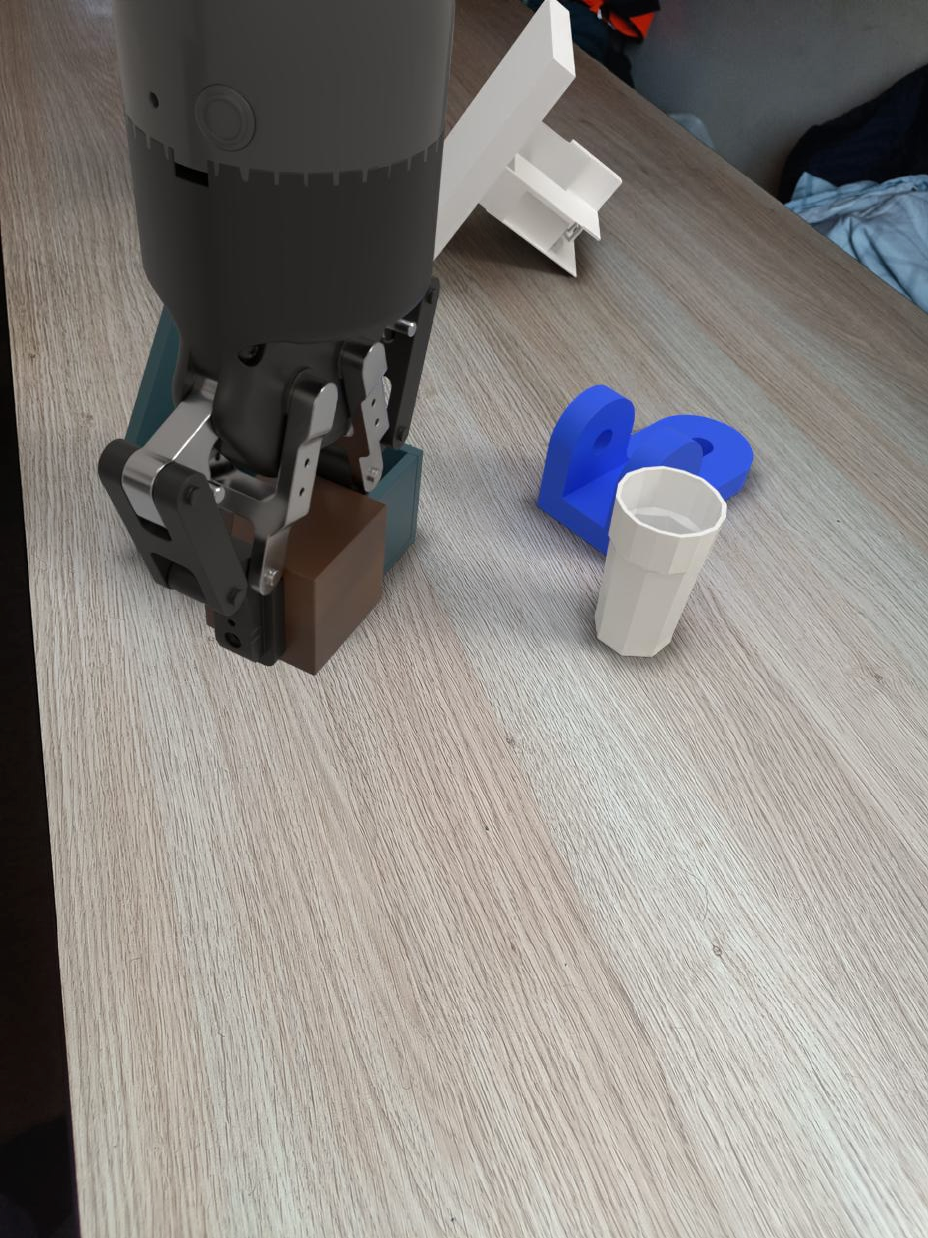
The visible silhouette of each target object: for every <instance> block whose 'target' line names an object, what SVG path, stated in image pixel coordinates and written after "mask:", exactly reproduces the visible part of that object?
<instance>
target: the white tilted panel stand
mask: <svg viewBox="0 0 928 1238" xmlns="http://www.w3.org/2000/svg"><path fill="white" fill-rule="evenodd" d="M576 77H577V76H576V67H575V56H574V46H573V38H572V27H571V17H570V11H569V10H568V9H567V8H566V7H565V6H564V5H562V3H560V2H559V1H558V0H544V1H543V2H542V3H541V5H540V6H539V8H538V9H537V11H536V12H534V15H533V16H532V18H530V20H529V22H528V23H527V25H526V26H525V27H524V28H523V30H522V31H521V33H520V34H519V36H518V37H517V38H516V40H515V41H514V43H513V44H512V45H511V47H510V48H509V49H508V51H507V52H506V54H505V55H504V57H503V58H502V60H501V61H500V62H499V64H498V65H497V67H495V69H494V71H493V72H492V74H491V75H490V76H489V77H488V79H487V81H485V83H484V84H483V86H482V87H481V89H480V90H479V92H478V93H477V94H476V96H475V97H474V98H473V100H472V101H471V103H470V104H469V105H468V107H467V108H466V110H465V111H464V112H463V114H462V115H461V117H460V118H459V119H458V121H457V122H456V123H455V125H454V126H453V128H452V129H451V130H450V132H449V133H448V135H447V136H446V138H444V147H443V159H442V170H441V181H440V193H439V204H438V215H437V227H436V238H435V250H434V261H435V260H436V258H437V257H439V255H440V254H441V252H442V251H443V250H444V248H445V247H446V246H447V244H448V243H449V242H450V241H451V240H452V238H453V237H454V235H455V234H456V233H457V232H458V230H459V229H460V227H461V226H462V225H463V224H464V222H465V221H466V220H467V218H469V216H470V215H471V214H472V212H473V211H474V209H475V208H476V207H477V205H480V206H482V207H483V208H484V209H485V211H486V212H487V213H489V214H490V215H492V217H494V218H495V219H497V220H498V221H500V222H501V223H502V224H503V225H505V226H506V227H508V229H510V230H511V231H513V232H514V233H516V234H517V235H518V236H519V237H521V238H522V239H524V240H525V241H526V242H527V243H528V244H530V245H531V246H532V247H534V248H535V249H537V250H538V251H539V252H540V253H542V254H543V255H545V256H546V257H547V258H549V259H550V260H551V261H552V262H554V263H555V264H556V265H558V266H559V267H560V268H562V269H563V270H565V272H567V273H569V274H570V275H572V277H574V278H575V279H576V278H577V276H578V275H577V266H576V265H577V264H576V252H575V240H576V239H577V237H579V235H581V233H582V232H583V231H585V232H586V233H587V234H589V235H590V236H591V237H593V238H594V239H595V240H596V241H598V242H600V241H601V239H602V237H601V230H600V221H599V213H598V212H599V211H600V210H601V208H602V207H603V206H604V205H605V203H606V202H608V200H609V199H610V198H611V196H612V195H613V194H614V193H615V192H616V191H617V189H618V188H620V187H621V185H622V184H623V179H622V178H621V177H620V176H619V175H618V174H617V173H615V172H614V171H613V170H612V169H611V168H609V167H608V166H606V164H604V163H603V162H602V161H600V160H599V159H598V157H595V155H593V154H592V153H591V152H590V151H588V149H586V148H585V147H583V146H582V145H581V144H580V143H579V142H577V141H576V140H575V139H571V140H570V142H569V141H567V140H566V139H565V138H563V137H562V136H561V135H559V134H558V133H557V132H556V131H555V130H554V129H552V128H551V127H550V126H549V125H547V123H545V122H543V121H544V119H545V117H546V116H547V115H548V114H549V113H550V111H551V110H552V109H553V107H554V106H555V105H556V104H557V102H558V101H559V100H560V98H561V97H562V96H563V94H564V93H565V92H566V90H567V89H568V88H569V86H570V85H571V84H572V82H573V81H574V80H575V79H576Z"/></svg>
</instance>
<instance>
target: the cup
mask: <svg viewBox="0 0 928 1238" xmlns="http://www.w3.org/2000/svg"><path fill="white" fill-rule="evenodd" d="M727 505H728V504H727V503H726V500H725V501H724V499H723V498H722V496H721V495H720V493H719V492H718V491H717V490H716V489H715V488H714V487H713V486H712V485H710V484H709V483H708V482H707V481H706V480H705V479H703V478H701V477H698V476H696V475H694V474H691V473H689V472H686V471H684V470H679V469H675V468H670V467H665V466H657V467H645V468H641V469H638V470H635V471H632V472H629V473H627V474H626V475H625V476H624V478H623V479H622V480H621V481H620V482H619V484H618V488H617V493H616V498H615V503H614V508H613V513H612V519H611V524H610V529H609V534H608V536H609V538H610V541H609V546H608V551H607V556H605V562H604V568H603V574H602V578H601V584H600V587H599V588H600V589H599V594H598V599H597V604H596V609H595V613H594V624H595V630H596V637H597V639H598V640H599V641H601V642H602V643H603V644H605V645H606V646H608V647H609V648H610V649H612V650H613V651H614V652H616V653H617V654H619V655H620V656H625V657H626V656H627V657H640V658H641V657H644V658H653V657H654V656H656V655H657V654H658V653H659V652H660V651H662V650H663V649H664V648H665V647H666V646H668V645H669V644H670V643H671V641H672V638H673V636H674V632H675V630H676V628H677V626H678V623H679V621H680V618H681V617H682V614H683V613H684V609H685V608H686V605H687V603H688V600H689V599H690V596H691V594H692V591H693V589H694V588H695V585H696V582H697V579H698V577H699V575H700V573H701V571H702V568H703V566H704V565H705V563H706V562H707V561H708V558H709V557H710V555H712V550H713V549H714V546H715V544H716V542H717V540H718V538H719V535H720V532H721V530H722V528H723V526H724V524H725V520H726V518H727V508H728V506H727Z"/></svg>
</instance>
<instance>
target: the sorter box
mask: <svg viewBox="0 0 928 1238" xmlns="http://www.w3.org/2000/svg"><path fill="white" fill-rule="evenodd" d="M382 460H383V471H382V475H381V478H380V480H379V482H378V484H377V485H376V487H375V488H374V489H373V490H372V491H371V492H369V497H370V498H372V499H374V500H377V501H379V502H382V503H384V504H386V505H387V520H386V536H385V551H384V567H383V577H385V576H386V574H387V573H388V572H389V571H390V569H392V567H394V565H395V564H396V563H397V562H398V561H399V560H400V558H401V557H402V556H403V555H404V554H405V553H406V551H407V550H408V549H409V548H410V547H411V545H412V544H413V543H414V542H415V541H416V536H417V535H416V534H417V526H418V516H419V515H418V513H419V504H420V492H421V483H422V474H423V473H422V471H423V463H424V462H423V461H424V449H421V448H419V447H416V446H413V445H410V444H408V443H406V442H405V443H404V444H403V446H402V447H401V448H400V449H398V450H394V449H392V448H389V447H387V446H386V448H385V449H384V451H383V452H382ZM233 465H234V466H235V467H236V468H237V469H238V470H239V471H241V472H243V473H245V474H247V475H250V476H252V477H254V478H255V477H256V476H257V475H258V474H257V473H254V472H252V471H250V470H247V469H245V468H242V467H240V466H238V465H235V464H233Z"/></svg>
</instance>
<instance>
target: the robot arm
mask: <svg viewBox="0 0 928 1238" xmlns="http://www.w3.org/2000/svg"><path fill="white" fill-rule="evenodd" d="M110 5H111V12H112V21H113V29H114V39H115V46H116V54H117V62H118V70H119V71H118V72H119V78H120V79H119V80H120V87H121V95H122V104H123V113H124V121H125V122H124V123H125V129H126V131H125V132H126V139H127V147H128V155H129V163H130V174H131V180H132V189H133V196H134V207H135V214H136V222H137V230H138V239H139V246H140V248H139V249H140V255H141V263H142V268H143V271H144V274H145V276H146V279H147V281H148V283H149V284H150V286H151V288H152V290H153V291H154V292H155V293H156V295H157V297H158V298H159V299H160V301H161V303H162V304H163V306H165V307H166V309H167V311H168V312H169V314H170V316H171V317H172V319H173V321H174V323H175V325H176V327H177V329H178V332H179V352H178V359H177V364H176V368H175V372H174V376H173V381H172V399H173V404H174V406H175V410H174V411H173V413H172V414H171V415H170V416H169V417H168V418H167V420H166V421H165V422H164V423H163V424H162V426H161V427H160V428H159V429H158V430H157V431H156V433H155V434H154V435H153V436H152V437H151V438H150V440H149V441H148V442H147V443H146V444H145V446H144V447H140V446H138V445H136V444H134V443H131V442H129V441H127V440H124V439H125V438H115V439H113V440H111V441H110V442H109V443H108V444H107V445H106V446H105V447H104V448H103V450H102V451H101V454H100V456H99V458H98V462H97V476H98V479H99V481H100V482H101V484H102V486H103V488H104V489H105V492H106V494H107V496H108V497H109V499H110V501H111V502H112V505H113V507H114V508H115V510H116V513H117V514H118V516H119V518H120V520H121V522H122V523H123V526H124V527H125V528H126V531H127V533H128V536H129V537H130V538H131V540H132V542H133V544H134V546H135V548H136V550H137V551H138V553H139V555H140V557H141V559H142V561H143V563H144V565H145V567H146V568H147V571H148V572H149V574H150V576H151V578H152V579H153V581H154V582H155V583H156V584H157V585H159V586H161V587H163V588H166V589H168V590H170V591H176V592H177V593H180V594H182V595H184V596H186V597H188V598H190V599H193V600H194V601H197V602H199V603H201V604H203V605H204V606H205V605H207V606H210V608H211V609H212V610H213V617H214V626H215V628H213V629H214V630H213V631H214V639H215V641H216V643H217V644H218V645H219V647H221V648H223V649H225V650H227V651H230V652H231V653H234V654H236V655H237V656H240V657H242V658H244V659H245V660H248V661H250V662H252V663H255V664H260V665H263V666H265V667H273V666H275V664H276V663H277V662H278V661H280V660H279V659H280V658H281V656H282V655H283V654H284V653H285V652H286V631H285V593H284V578H282V577H281V576H282V572H283V567H284V562H285V556H286V550H287V544H288V539H289V533H290V527H291V525H293V524H295V523H296V522H298V521H300V520H302V519H304V518H305V517H306V516H307V514H308V512H309V507H310V502H311V496H312V491H313V485H314V480H315V475H317V476H320V477H322V478H324V479H327V480H329V481H331V482H334V483H336V484H339V485H341V486H343V487H346V488H348V489H351V490H353V491H355V492H358V493H360V494H363V495H365V496H367V497H369V492H371V491H372V490H373V489H374V488H375V487H376V485H377V484H378V482H379V480H380V478H381V475H382V471H383V460H382V452H383V451H384V449H385V448H386V446H387V447H389V448H392V449H394V450H398V449H400V448H401V447H402V446H403V444H404V443H406V440H407V439H408V438H409V435H410V430H411V426H412V421H413V416H414V411H415V407H416V402H417V397H418V393H419V388H420V384H421V379H422V374H423V370H424V365H425V360H426V356H427V353H428V348H429V344H430V343H429V342H430V339H431V333H432V329H433V324H434V320H435V314H436V310H437V306H438V301H439V296H440V291H441V281H440V278H439V277H438V276H435V275H433V273H434V271H433V270H434V261H435V260H434V250H435V238H436V227H437V215H438V204H439V193H440V181H441V170H442V159H443V147H444V140H445V136H446V135H445V134H446V123H447V122H446V121H447V109H448V99H449V98H448V97H449V87H450V74H451V64H452V63H451V62H452V52H453V43H454V32H455V31H454V28H455V12H456V0H110ZM383 377H385V378H387V380H388V381H389V382H390V392H389V397H388V400H387V401H388V402H387V401H386V395H385V388H384V382H383ZM233 464H235V465H238V466H240V467H242V468H245V469H247V470H250V471H252V472H254V473H257V474H259V475H261V476H264V477H269V478H278V480H277V486H276V487H275V486H273V485H271V484H268V483H266V482H264V481H261V480H259V479H257V478H254V477H252V476H250V475H247V474H245V473H243V472H241V471H239V470H238V469H237V468H236V467H235V466H234V465H233ZM234 514H236V515H238V516H241V517H243V518H245V519H247V520H249V521H250V522H251V523H252V524H253V526H254V529H255V535H254V541H253V545H252V544H249V543H247V542H245V541H243V540H240V539H238V538H236V537H234V536H231V534H232V527H233V520H234Z"/></svg>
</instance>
